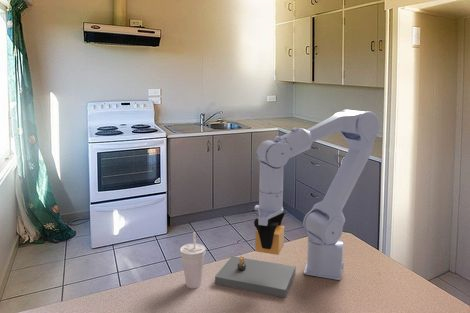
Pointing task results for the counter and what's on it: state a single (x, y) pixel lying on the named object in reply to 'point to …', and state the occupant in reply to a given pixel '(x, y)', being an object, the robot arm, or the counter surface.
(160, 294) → the counter surface
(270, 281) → the flat grey tile
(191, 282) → the smoothie
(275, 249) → the amber cube
